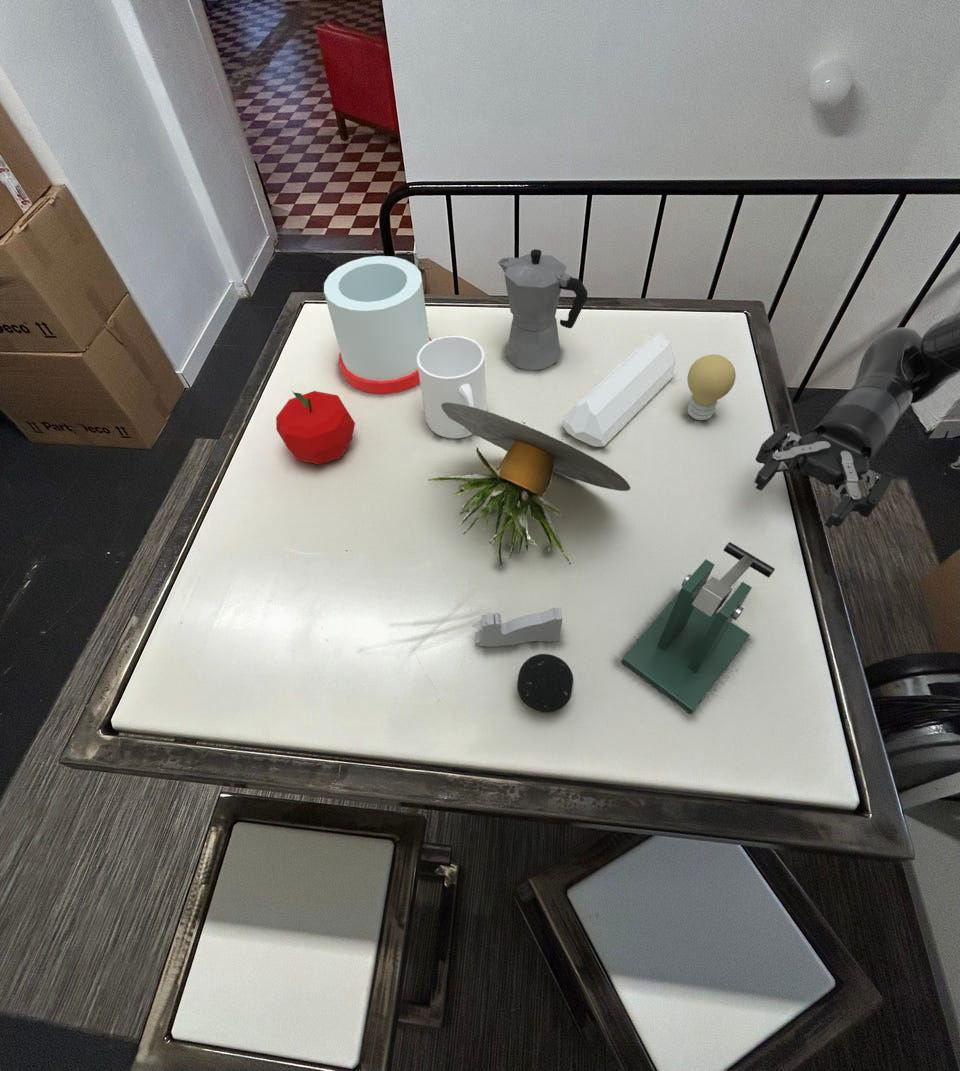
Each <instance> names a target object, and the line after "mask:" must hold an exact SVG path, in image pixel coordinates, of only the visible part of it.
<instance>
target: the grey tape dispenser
mask: <svg viewBox="0 0 960 1071" xmlns="http://www.w3.org/2000/svg"><path fill="white" fill-rule="evenodd" d="M501 618H502V616H501V614H500V613H499V612H489V613H486V614H482V615H481V620H479V621H478V622H476V623H474V624H472V625H471V627H472V628H474V629H477V630H478V631H475V632H474V639H475V645H476V646H478V647H479V646H481V647H484V648H485V647H487V648H489V647H490V648H503V647H509V646H511V647H512V646H516V645H520V644H525V643H529V642H541V641H543V642H547V643H553V642H555V643H559V642H560V638H561V630H562V626H563V620H564V619H563V618H564V617H563V613H562V607H556V608H554V607H552V608H549V609H546V610H544V611H541V612H535V613H530V614H526V615H522V616H519V617H516V618H514V619H511V620H509V621H506V622H502V619H501Z"/></svg>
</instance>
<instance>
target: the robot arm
mask: <svg viewBox="0 0 960 1071" xmlns="http://www.w3.org/2000/svg"><path fill="white" fill-rule="evenodd" d="M868 346H869V347H868V348H867V349H866V350H865V352H864V354H863V356H862V358H861V361H860V364H859V366H858V371H857V375H856V378H855V381H854V384H853V386H852V387H851V388H850V389H849V390H848V391H847V393H846V394H845V395H844V396H843V397H841V398H840V399H839V400H838V401H836V402H835V404H834V405H833V406H832V407H831V408H830V409H829V411H828V412H827V413H826V414H825V415H824V416H823V417H822V419H821V420H820V421H819V422H818V424H816V426H815V427H814V428H813V429H812V431H811V432H810V433H809V434H806V435H803V436H801V435H799V434H796V433H795V432H793V431H792V430H793V425H792V424H790V423H783V424H782V425H781V426H779V427H778V428H777V429H776V430H775V431H774V432H773V433H772V434H771V435H770V436H769V437H768V438H767V439H766V440H765V441H763V442H762V444H761V445H760V447H759V449H758V452H757V454H756V457H755V462H757V463H758V464H763V466H762V467H761V468H760V469H759V470H758V472H757V474H756V476H755V478H754V484H756V486H755V489H756V490H758V491H760V492H762V491H763V489H765V487H766V486H767V485H768V484H769V483H770V481H771V480H772V479H773V478H774V477H775V476H776V474H777V473H782V472H783V473H784V472H786V474H791V473H797V472H802V474H803V475H806V476H807V477H810V478H814V479H816V480H817V481H818V482H820V483H821V484H822V485H825V486H829V485H831V488H832V493H833V495H834V497H835V498H836V499H838V502H839V504H837V506H836V508H835V509H834V511H833V512H832V513H831V514H830V516H829V517H828V519H827V520H826V521H825V523H824V526H825V527H826V528H829V529H831V528H832V527H833V526H834V527H840V526H842V525H843V522H845V520H846V518H847V517H848V516H849V514H850V513H852V512H857V513H858V514H859V515H860V516H861V517H863V518H868V517H870V515H871V514H872V512H873V511H874V509H875V508H876V507H877V506H878V505H879V503H880V502H881V500H882V498H883V496H884V495H885V493H886V492H887V490H888V488H889V486H890V485H891V483H892V482H893V479H894V477H895V475H894V474H893V472H891V471H890V470H889V471H888V470H885V471H883V472H882V473H879V472H876V471H874V470H872V469H870V467H869V464H870V462H871V461H872V460H873V458H874V457H875V456H876V455H877V453H878V452H879V450H880V449H881V448H882V447H883V446H884V445H885V444H886V442H887V440H888V438H889V437H890V436H891V434H892V433H893V431H894V429H895V427H896V425H897V423H898V422H899V420H900V419H901V418H902V416H903V415H904V414H905V412H906V411H907V410H908V408H909V407H910V405H911V404H917V403H920V402H923V401H925V400H926V399H929V397H931V396H932V395H934V394H935V393H936V392H938V391H939V390H940V389H941V388H942V387H943V386H944V385H945V384H947V383H948V382H949V381H951V380H952V379H954V378H956V377H957V376H959V375H960V310H959V311H957V312H956V313H955V312H954V313H953V314H952V315H949V316H947V317H945V318H943V319H941V320H939V321H937V322H935V323H934V324H933V325H931V326H930V327H929V328H928V329H927V330H926V331H925V332H924V334H923V336H921V334H920V333H919V332H918V331H916V330H915V329H913V328H910V327H903V326H902V327H895V328H892V329H889V330H887V331H885V332H884V333H882V334H880V335H879V336H878V337H877V338H876V339H875V340H874V341H873V342H871V344H870V345H868ZM789 446H793V447H790V448H789V449H788V450H784V449H785V448H787V447H789ZM779 449H783V450H782V451H778V450H779ZM862 480H864V481H865V483H866V484H865V486H866V487H867V488H866V491H867V492H869V493H868V494H867V495H866V496H863V495H862V493H861V490H860V488H859V482H860V481H862Z"/></svg>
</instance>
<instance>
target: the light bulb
mask: <svg viewBox="0 0 960 1071" xmlns="http://www.w3.org/2000/svg"><path fill="white" fill-rule="evenodd" d="M686 378H687V386H688V390H689V391H690V393H691V395H690V400H689V402H688V406H687V413H688V415H689V416H690V417H691V418H692V419H694V420H697V421H706V420H709V419H710V418H712V416H714V412H715V410H716V406H717V403H718V400H720V399H722V398H724V397H725V396H726V395H728V393H730V392H731V390H732V388H733V386H734V384H735V382H736V369H735V367H734V365H733V363H732V362H731V361H730V360H729V359H728V358H727V357H725V356H723V355H721V354H715V353H714V354H707V355H703V356H701V357H699V358H698V359H696V360H695V361H694V362H692V364H691V366H690V368H689V369H688V373H687V376H686Z"/></svg>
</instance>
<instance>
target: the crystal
mask: <svg viewBox="0 0 960 1071" xmlns="http://www.w3.org/2000/svg"><path fill="white" fill-rule="evenodd" d="M676 363H677V361H676V356H675V354H674V350H673V346H672V343H671V342H670V341H669V340H668V339H667V338H666V337H665V336H664V335H663V334H662V333H661V332H659V333H658V332H657V333H653V334H650V335H649V336H648V337H647V338H646V339H645V340H644V341H643V342H642V343H641V344H640V345H639V346H637V347H636V348H635V349H634V350H633V351H632V352H631V353H630V354H629V355H628V356H626V358H624V359H623V360H622V361H621V362H620V363H619V364H618V365H617V366H616V367H615V368H614V369H612V371H610V372H609V373H608V374H607V375H606V376H605V377H604V378H603V379H601V381H600V382H598V383H597V384H596V385H595V386H594V387H593V388H592V389H591V390H590V391H589V392H588V393H587V394H585V395H584V396H583V398H581V399H580V400H579V401H577V403H576V404H575V405H574V406H573V407H571V409H570V410H569V411H568V412H566V413H565V414H564V415H563V418H562V420H561V425H562V427H563V428H564V430H565V432H566V433H567V434H568V435H570V436H572V437H573V438H575V439H577V440H579V441H581V442H583V443H585V444H588V445H589V446H592V447H605V446H606V445H607V444H608V443H609V442H610V441H611V440H612V439H613V438H614V437H615V436H616V435H617V434H618V433H619V432H620V431H621V430H622V429H623V428H624V427H625V426H626V425H627V424H628V423H629V422H630V421H631V420H632V419H633V418H634V417H635V415H637V414H638V412H640V411H641V410H642V409H643V407H645V406H646V404H647V403H648V402H650V400H651V399H653V397H654V396H656V395H657V394H658V392H660V391H661V389H663V387H664V386H666V384H668V382H669V381H671V379H672V378H674V374H675V369H676Z"/></svg>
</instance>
